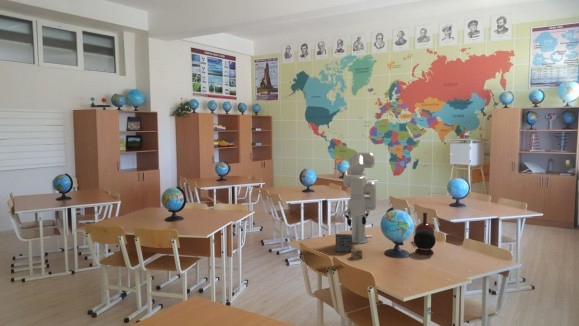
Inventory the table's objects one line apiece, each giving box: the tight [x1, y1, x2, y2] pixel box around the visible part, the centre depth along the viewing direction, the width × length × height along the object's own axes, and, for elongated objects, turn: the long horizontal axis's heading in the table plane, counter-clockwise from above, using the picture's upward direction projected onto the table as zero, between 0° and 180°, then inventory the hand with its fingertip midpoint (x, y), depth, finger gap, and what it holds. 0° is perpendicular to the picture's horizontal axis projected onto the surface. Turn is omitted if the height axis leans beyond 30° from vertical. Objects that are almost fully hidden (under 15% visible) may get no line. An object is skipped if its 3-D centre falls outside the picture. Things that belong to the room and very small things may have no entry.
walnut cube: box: [350, 248, 363, 260], centre depth 253 cm, size 5×5×5 cm
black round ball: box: [413, 229, 437, 256], centre depth 262 cm, size 13×13×15 cm
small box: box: [335, 233, 353, 253], centre depth 268 cm, size 11×6×10 cm, turn 84°
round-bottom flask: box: [414, 212, 436, 235], centre depth 289 cm, size 13×13×20 cm
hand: (356, 224), depth 252 cm, fingers open, 9 cm apart
